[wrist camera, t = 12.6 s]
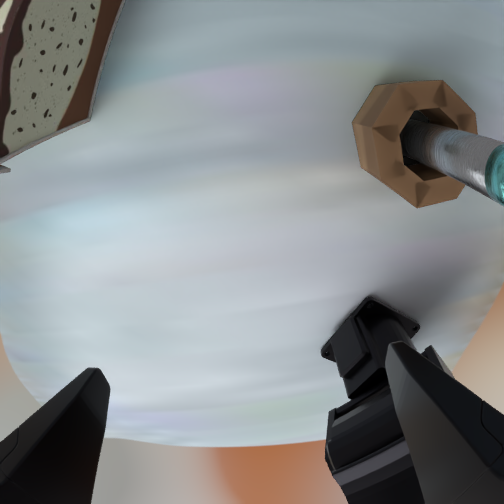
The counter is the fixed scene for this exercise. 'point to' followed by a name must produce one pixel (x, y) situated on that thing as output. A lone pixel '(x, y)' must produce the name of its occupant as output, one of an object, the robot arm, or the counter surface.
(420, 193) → the brown octagonal ring
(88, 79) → the food container
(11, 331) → the counter surface
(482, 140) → the teal-capped metal tube
